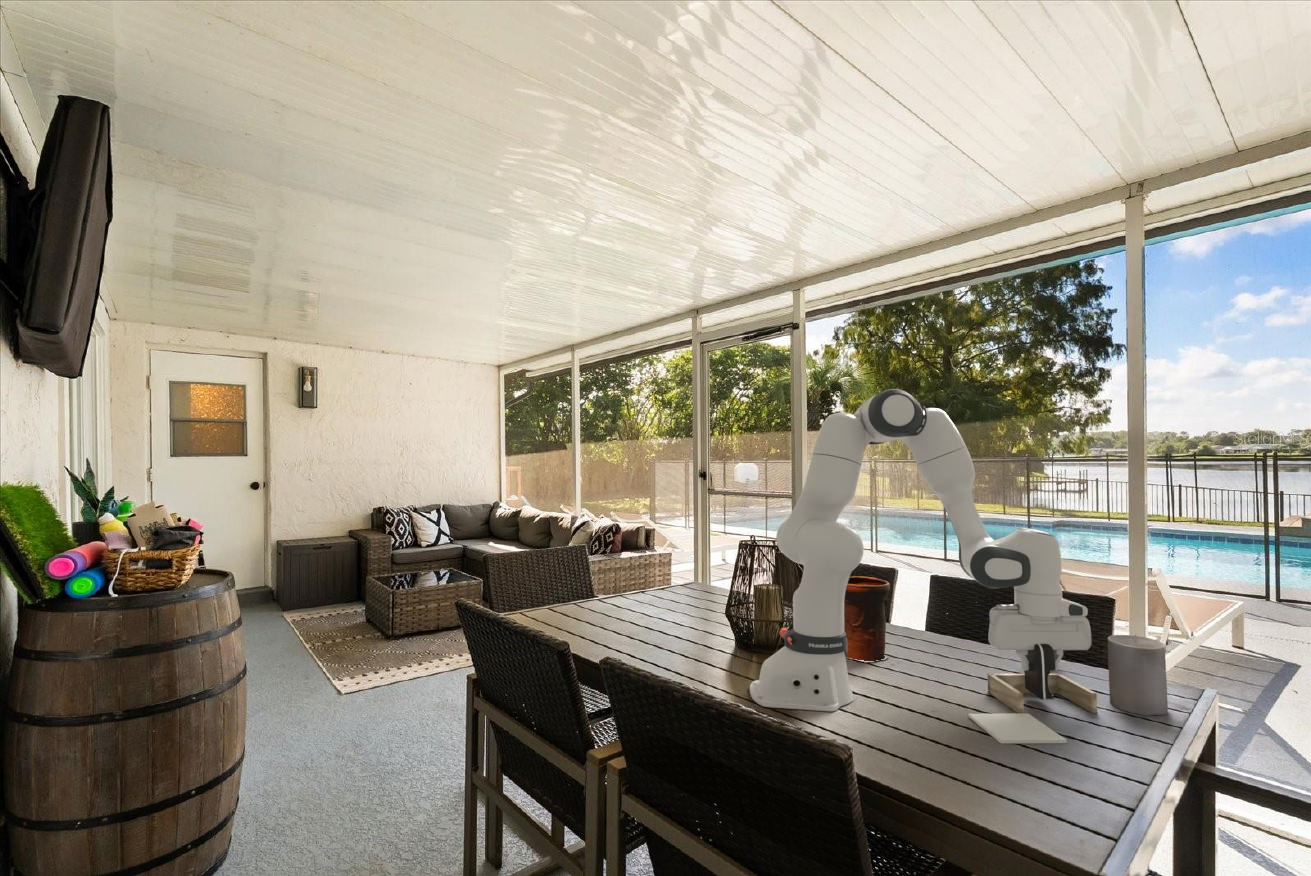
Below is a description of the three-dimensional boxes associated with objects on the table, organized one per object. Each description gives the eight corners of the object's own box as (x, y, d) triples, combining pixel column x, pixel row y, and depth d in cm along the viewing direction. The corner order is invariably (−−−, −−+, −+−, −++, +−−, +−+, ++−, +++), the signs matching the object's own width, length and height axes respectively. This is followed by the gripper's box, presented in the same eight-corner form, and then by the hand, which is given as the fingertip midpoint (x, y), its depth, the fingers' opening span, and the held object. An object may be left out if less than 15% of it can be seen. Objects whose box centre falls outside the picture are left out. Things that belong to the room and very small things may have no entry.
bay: (1018, 713, 127) (1018, 693, 127) (987, 691, 139) (987, 673, 139) (1097, 713, 127) (1096, 693, 127) (1059, 691, 139) (1059, 673, 139)
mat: (1000, 743, 114) (1000, 740, 114) (968, 716, 126) (968, 713, 126) (1066, 743, 114) (1066, 739, 114) (1027, 716, 126) (1027, 713, 126)
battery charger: (1060, 701, 129) (1056, 645, 129) (1040, 701, 129) (1037, 645, 130) (1042, 689, 136) (1039, 636, 136) (1024, 689, 136) (1021, 636, 137)
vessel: (830, 645, 175) (830, 574, 176) (882, 648, 173) (883, 576, 174) (837, 662, 161) (838, 584, 162) (895, 665, 159) (895, 586, 160)
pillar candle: (1114, 694, 137) (1111, 626, 138) (1171, 706, 130) (1168, 634, 131) (1105, 707, 130) (1102, 635, 131) (1165, 721, 123) (1161, 644, 124)
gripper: (997, 607, 130) (998, 674, 130) (1095, 608, 130) (1097, 675, 130) (981, 601, 137) (983, 665, 136) (1075, 601, 136) (1077, 665, 136)
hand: (1039, 670), depth 133 cm, fingers closed on battery charger, 4 cm apart
